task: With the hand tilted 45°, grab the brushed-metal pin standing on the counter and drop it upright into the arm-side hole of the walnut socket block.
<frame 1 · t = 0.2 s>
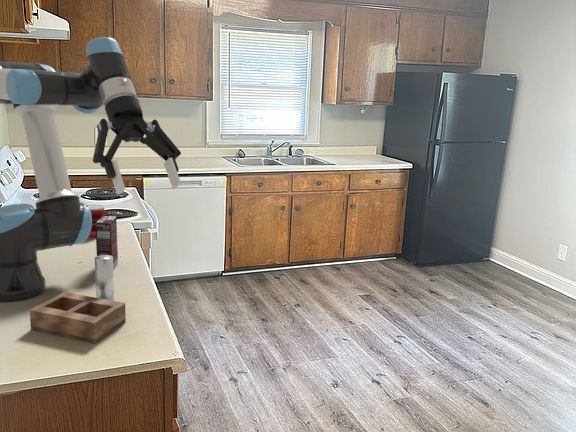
hand: (150, 189, 112), 35 cm above the countertop, tool tilted 35°, fingers open, 13 cm apart
pin: (105, 304, 138), on the countertop
socket block: (79, 325, 125), on the countertop
red supplement bottle: (94, 235, 198), on the countertop
supplement box: (107, 268, 165), on the countertop
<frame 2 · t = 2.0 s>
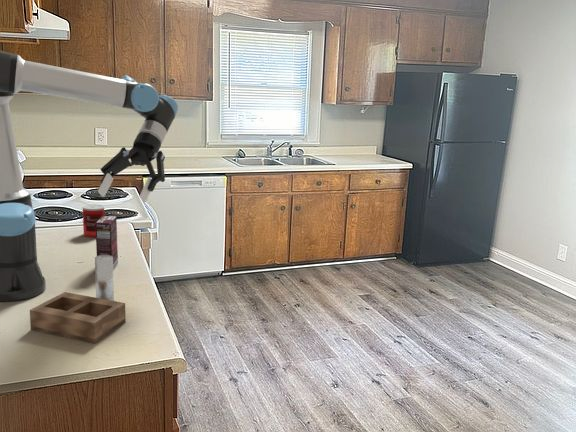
hand: (121, 196, 147), 26 cm above the countertop, tool tilted 45°, fingers open, 13 cm apart
nothing on the countertop moved.
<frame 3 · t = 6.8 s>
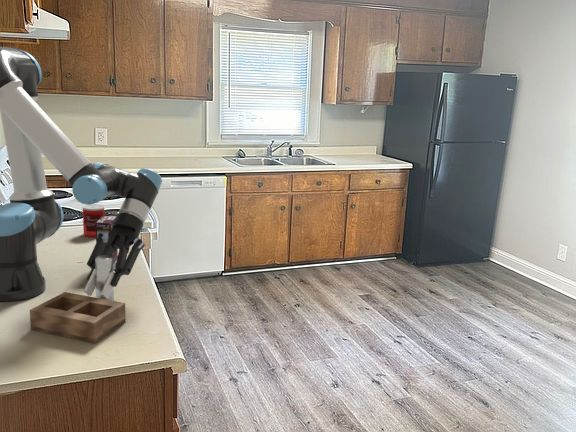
hand: (95, 295, 133), 4 cm above the countertop, tool tilted 45°, fingers closed on pin, 4 cm apart
pin: (105, 304, 138), on the countertop, touching gripper
everything else where it was.
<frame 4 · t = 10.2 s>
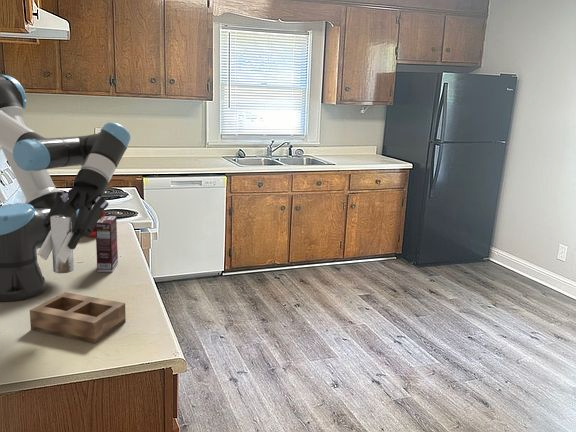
hand: (51, 258, 118), 18 cm above the countertop, tool tilted 45°, fingers closed on pin, 4 cm apart
pin: (63, 270, 123), point 14 cm above the countertop, touching gripper
everything else where it was.
when the fingers open (7 cm above the countertop, at t = 13.4 s): pin drops 2 cm, resting on socket block.
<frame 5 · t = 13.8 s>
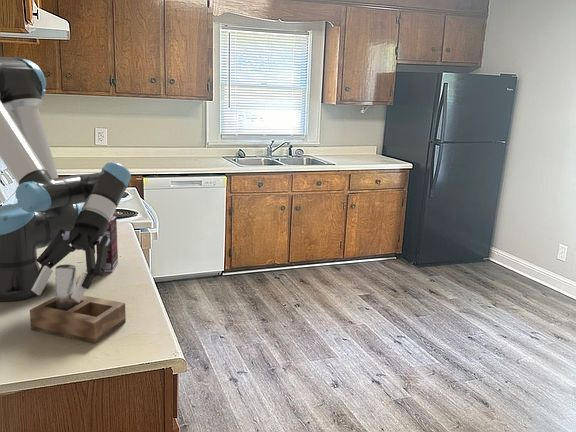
hand: (55, 296, 121), 8 cm above the countertop, tool tilted 45°, fingers open, 10 cm apart
pin: (65, 318, 126), point 1 cm above the countertop, touching socket block
everything else where it was.
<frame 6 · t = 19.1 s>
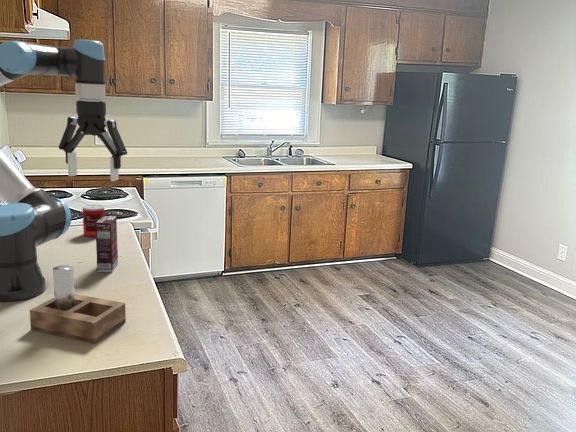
hand: (93, 178, 146), 31 cm above the countertop, tool pointing down, fingers open, 13 cm apart
nothing on the countertop moved.
at the end: pin 0.1 cm from the target spot on the socket block, point 1.0 cm above the socket block's base; pin tilted 0°; the gripper is holding nothing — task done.
